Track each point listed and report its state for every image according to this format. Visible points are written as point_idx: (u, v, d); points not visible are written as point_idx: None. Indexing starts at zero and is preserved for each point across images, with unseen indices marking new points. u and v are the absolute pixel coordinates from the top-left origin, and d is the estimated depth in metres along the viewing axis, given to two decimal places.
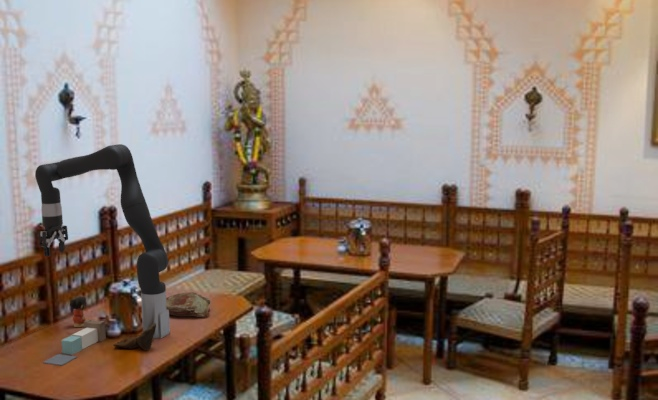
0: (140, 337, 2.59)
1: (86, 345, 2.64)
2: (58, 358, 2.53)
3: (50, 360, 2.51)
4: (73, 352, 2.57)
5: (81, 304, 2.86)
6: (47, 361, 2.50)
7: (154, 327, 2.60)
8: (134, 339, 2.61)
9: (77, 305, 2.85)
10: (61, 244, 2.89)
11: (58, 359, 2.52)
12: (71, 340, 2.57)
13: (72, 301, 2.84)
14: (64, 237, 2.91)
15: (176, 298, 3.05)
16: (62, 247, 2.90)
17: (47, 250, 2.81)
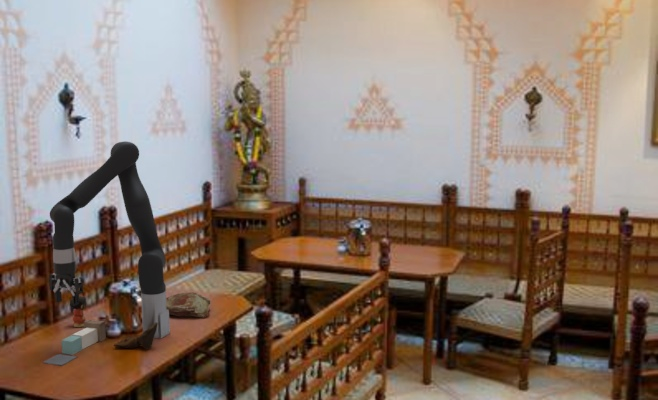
0: (142, 336, 2.60)
1: (86, 345, 2.64)
2: (58, 358, 2.53)
3: (50, 360, 2.51)
4: (73, 352, 2.57)
5: (81, 304, 2.86)
6: (47, 361, 2.50)
7: (156, 326, 2.62)
8: (135, 338, 2.62)
9: (77, 305, 2.85)
10: (59, 293, 2.63)
11: (58, 359, 2.52)
12: (71, 340, 2.57)
13: None
14: (54, 286, 2.63)
15: (176, 298, 3.05)
16: (60, 296, 2.63)
17: None
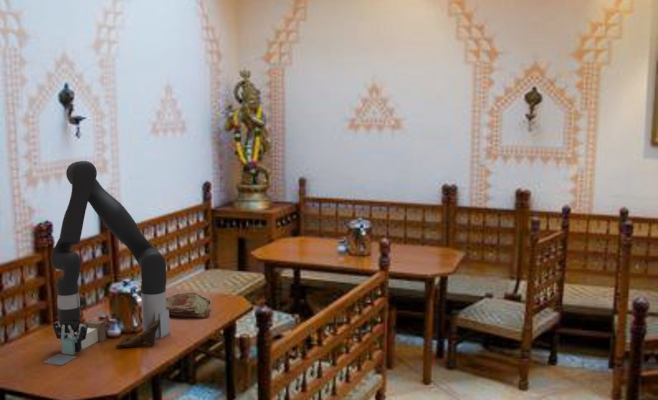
0: (147, 333, 2.62)
1: (86, 345, 2.64)
2: (58, 358, 2.53)
3: (50, 360, 2.51)
4: (73, 352, 2.57)
5: (81, 304, 2.86)
6: (47, 361, 2.50)
7: (159, 322, 2.66)
8: (138, 337, 2.64)
9: None
10: None
11: (58, 359, 2.52)
12: (71, 340, 2.57)
13: None
14: None
15: (176, 298, 3.04)
16: None
17: None
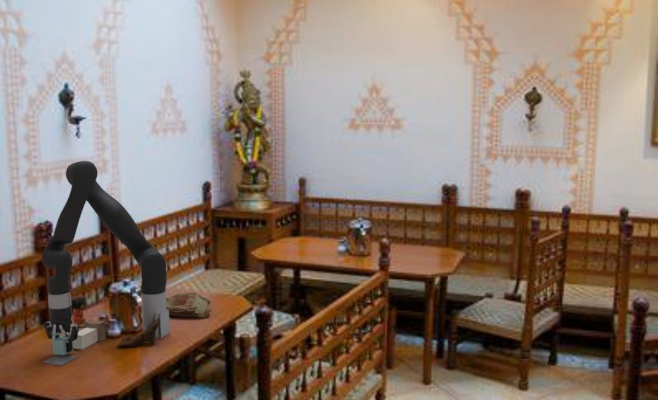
0: (148, 332, 2.64)
1: (86, 345, 2.64)
2: (58, 358, 2.53)
3: (50, 360, 2.51)
4: (64, 352, 2.53)
5: (81, 304, 2.86)
6: (47, 361, 2.50)
7: (159, 321, 2.67)
8: (139, 336, 2.64)
9: (77, 305, 2.85)
10: None
11: (58, 359, 2.52)
12: (62, 340, 2.53)
13: (72, 301, 2.84)
14: (52, 334, 2.56)
15: (176, 299, 3.04)
16: None
17: None
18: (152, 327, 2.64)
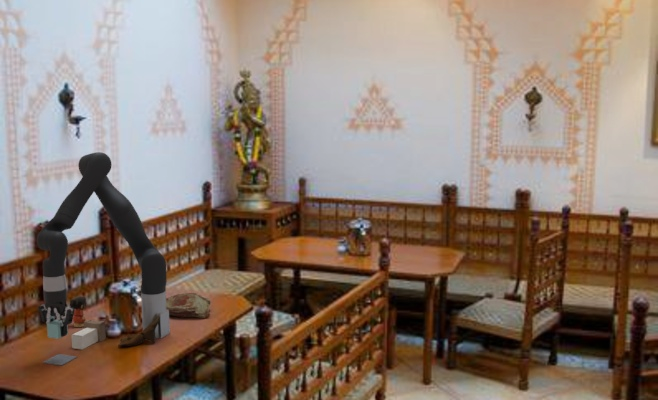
0: (149, 331, 2.65)
1: (86, 345, 2.64)
2: (58, 358, 2.53)
3: (50, 360, 2.51)
4: (59, 336, 2.48)
5: (81, 304, 2.86)
6: (47, 361, 2.50)
7: (158, 319, 2.69)
8: (140, 335, 2.66)
9: (77, 305, 2.85)
10: None
11: (58, 359, 2.52)
12: (57, 323, 2.48)
13: (72, 301, 2.84)
14: (47, 318, 2.51)
15: (176, 299, 3.04)
16: None
17: None
18: (153, 325, 2.66)
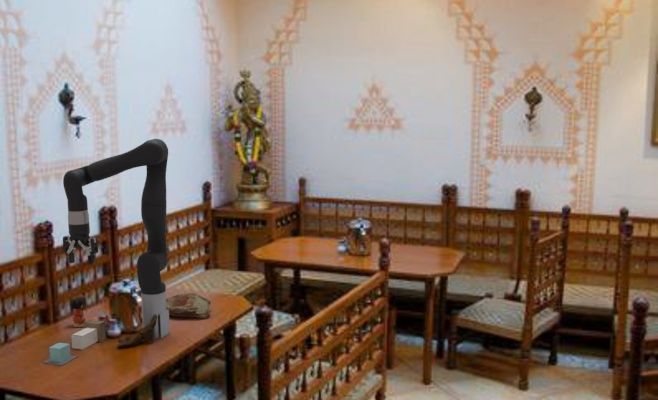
0: (148, 330, 2.66)
1: (86, 345, 2.64)
2: None
3: None
4: (61, 359, 2.49)
5: (81, 304, 2.86)
6: (47, 361, 2.50)
7: (156, 319, 2.70)
8: (138, 335, 2.66)
9: (77, 305, 2.85)
10: (73, 255, 2.75)
11: None
12: (59, 347, 2.49)
13: (72, 301, 2.84)
14: (67, 248, 2.75)
15: (176, 299, 3.03)
16: (73, 257, 2.75)
17: None
18: (152, 325, 2.67)
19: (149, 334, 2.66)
